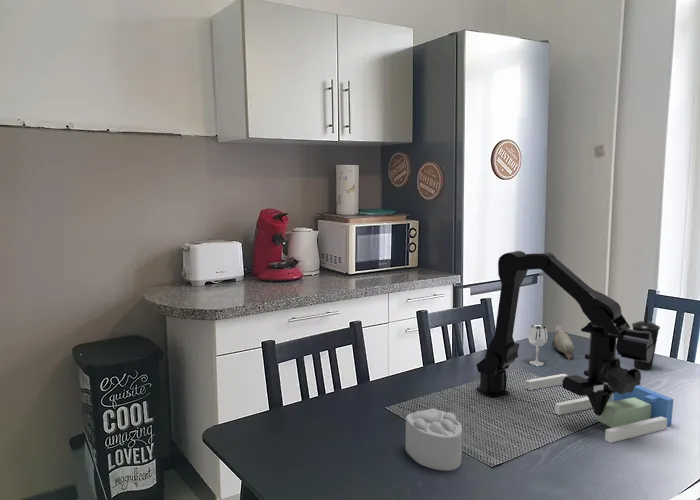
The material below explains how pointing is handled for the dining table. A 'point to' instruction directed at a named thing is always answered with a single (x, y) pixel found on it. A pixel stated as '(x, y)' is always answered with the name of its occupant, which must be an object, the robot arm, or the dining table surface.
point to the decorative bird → (563, 342)
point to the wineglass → (537, 340)
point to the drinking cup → (654, 330)
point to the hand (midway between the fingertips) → (598, 415)
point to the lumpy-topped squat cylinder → (434, 439)
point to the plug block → (625, 412)
